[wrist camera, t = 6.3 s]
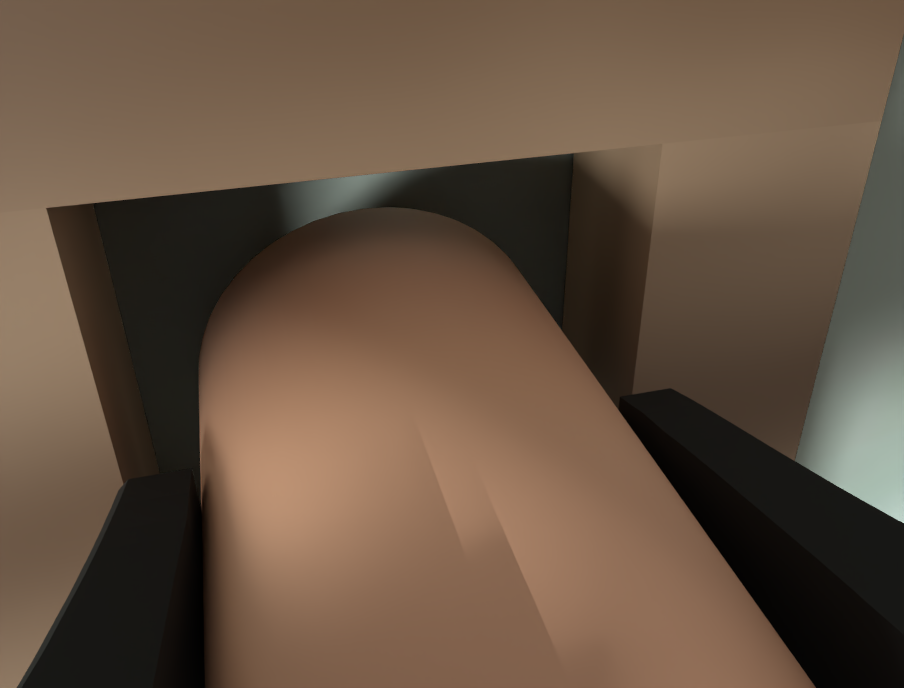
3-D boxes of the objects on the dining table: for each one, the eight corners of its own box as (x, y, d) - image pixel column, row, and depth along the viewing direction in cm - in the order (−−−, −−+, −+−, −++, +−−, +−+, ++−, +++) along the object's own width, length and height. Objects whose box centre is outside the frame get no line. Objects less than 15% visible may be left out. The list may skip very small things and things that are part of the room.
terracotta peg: (535, 467, 13) (810, 992, 7) (229, 526, 12) (268, 1177, 6) (544, 186, 11) (967, 637, 5) (165, 233, 10) (133, 856, 4)
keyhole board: (681, 541, 17) (748, 642, 15) (30, 677, 15) (5, 820, 13) (804, -163, 11) (952, -155, 9) (-310, -135, 8) (-475, -115, 6)
